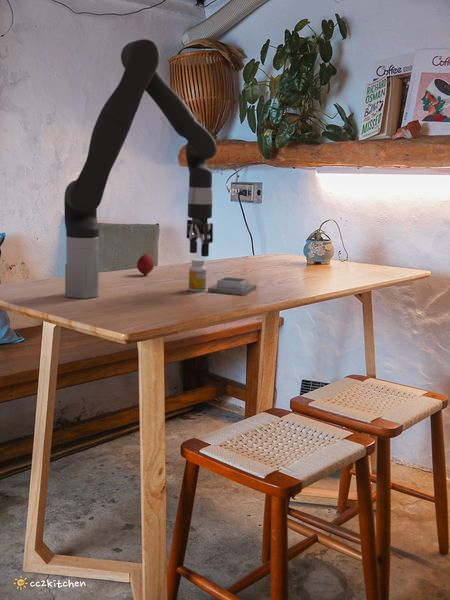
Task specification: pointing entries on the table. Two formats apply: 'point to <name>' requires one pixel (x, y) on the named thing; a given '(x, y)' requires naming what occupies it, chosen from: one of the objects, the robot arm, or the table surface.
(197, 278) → the supplement bottle
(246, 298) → the table surface
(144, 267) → the red fruit
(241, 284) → the plate
